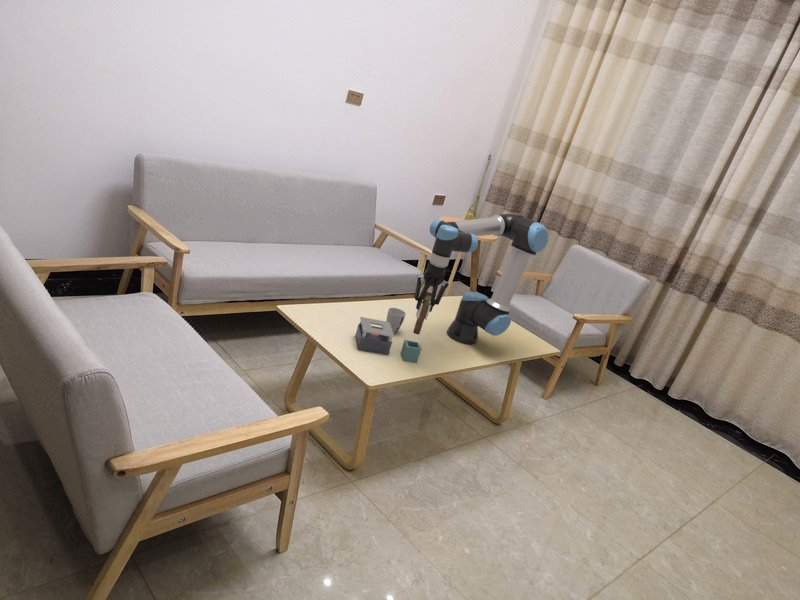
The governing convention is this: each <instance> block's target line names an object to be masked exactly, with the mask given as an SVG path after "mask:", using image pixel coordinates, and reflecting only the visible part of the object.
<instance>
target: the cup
mask: <svg viewBox="0 0 800 600" xmlns="http://www.w3.org/2000/svg"><path fill="white" fill-rule="evenodd" d="M387 311H388V312H387V315H386V320H385V321H386V322H390V325H391V328H392V331H393V334H394V335H395V334H398V332H399V330H400V329H401V327H402V325H403V323H404V320H405V317H406V315H407V313H406V312H405V311H404V310H402V309H400V308H397V307H390V308H388V310H387Z"/></svg>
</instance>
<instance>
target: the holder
mask: <svg viewBox="0 0 800 600" xmlns="http://www.w3.org/2000/svg"><path fill="white" fill-rule="evenodd" d="M421 350H422V347H421V345H420V343H419V341H415V340H414V341H412V340H409V339H404V341H403V344H402V348H401V350H400V356H401V359H402V362H403V361H404V362H408V363H415V364H417V363H418V361H419V358H420V354H421Z"/></svg>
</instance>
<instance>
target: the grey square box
mask: <svg viewBox="0 0 800 600" xmlns="http://www.w3.org/2000/svg"><path fill="white" fill-rule="evenodd" d="M359 320H360V321H359V323H358V325H357V329H356V332H355V335H354V336H355V342H356V347H357V350H358V351H361V352H367V353H374V354H380V355H385V356H389V354H390V350H391V347H392V345H393V341H392V340H393V338H395V334H393V331H392V328H391V325H390V322H386V320H380V319H375V318H374V319H373V318H369V317H364V316H360V317H359ZM375 325H376V326H375ZM370 333H374V334H379V336H376V335H370Z"/></svg>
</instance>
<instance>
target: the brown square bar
mask: <svg viewBox="0 0 800 600" xmlns="http://www.w3.org/2000/svg"><path fill="white" fill-rule="evenodd" d="M431 297H432V292H430V291H427V292H426V294H425V297H424V299H423V301H422V303H423V306H422V309H421V313H420V316H419V318H417V317H416V318H417V319H416V322H415V324H414V328H413V332H412V334H415V335H420V333H421V330H422V327H423V326H424V325H423V324H424V321H425V319H424V318H425V315H426V312H427V309H428V306H429V303H430V300H431Z"/></svg>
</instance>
